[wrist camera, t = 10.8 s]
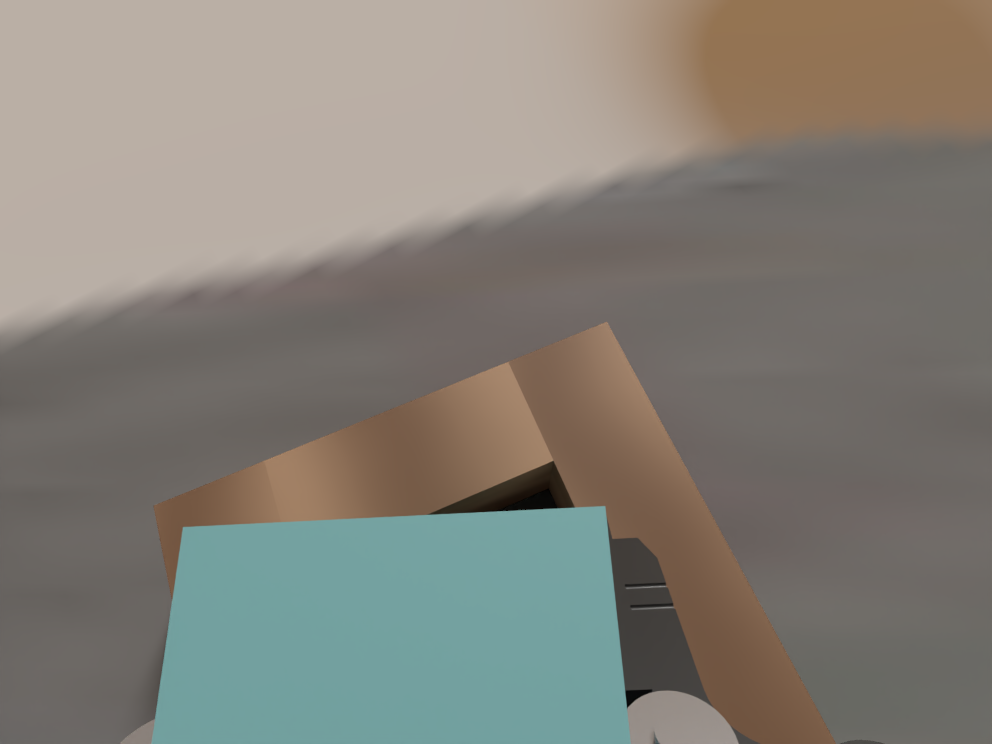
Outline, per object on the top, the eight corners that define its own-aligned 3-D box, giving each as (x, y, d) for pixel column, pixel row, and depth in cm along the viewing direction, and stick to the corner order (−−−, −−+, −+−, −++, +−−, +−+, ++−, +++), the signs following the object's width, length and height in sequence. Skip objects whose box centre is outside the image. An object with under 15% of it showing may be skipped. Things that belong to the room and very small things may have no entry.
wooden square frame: (592, 372, 20) (606, 321, 17) (807, 791, 16) (892, 848, 12) (226, 524, 19) (153, 505, 16) (344, 1024, 15) (283, 1167, 11)
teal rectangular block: (555, 568, 15) (604, 506, 6) (570, 755, 13) (669, 1095, 4) (396, 575, 15) (183, 526, 6) (392, 762, 14) (97, 1109, 4)
